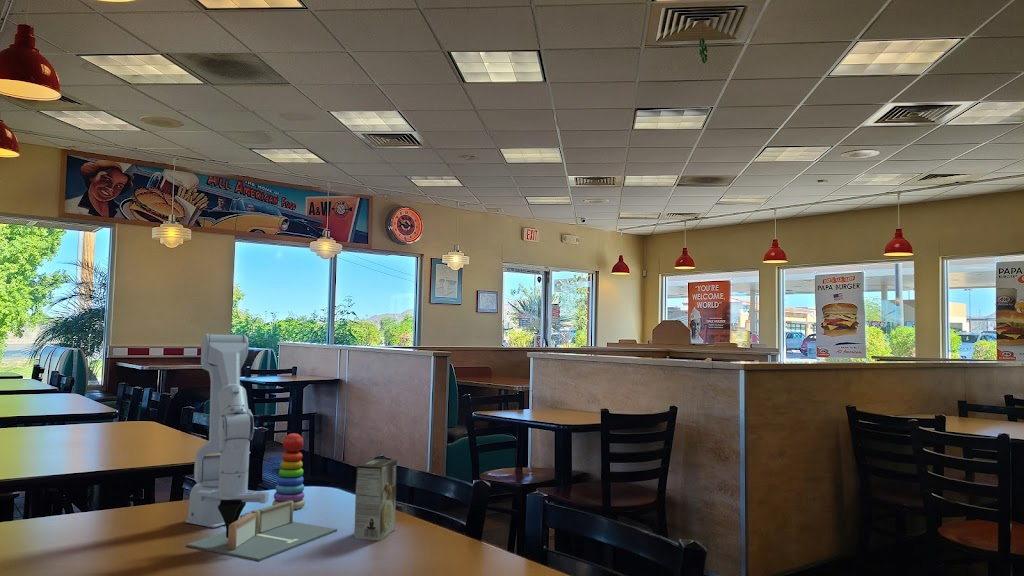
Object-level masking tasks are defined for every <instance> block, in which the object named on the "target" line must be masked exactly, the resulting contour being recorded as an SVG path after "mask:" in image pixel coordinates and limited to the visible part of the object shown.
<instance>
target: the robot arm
mask: <svg viewBox="0 0 1024 576" xmlns="http://www.w3.org/2000/svg"><path fill="white" fill-rule="evenodd" d="M249 345H250V344H249V338H248V336H247V335H246V334H215V333H214V334H212V333H205V334H203V336H202V339H201V346H200V349H201V351H200V352H201V353H200V365H201V369H203V370H205V371H207V372H208V374H209V378H210V379H209V380H210V389H209V390H210V397H209V429H208V432H209V433H208V441H206V443H205V444H203V445H201V447H199V448H198V449H197V451H196V453H195V460H194V468H193V474H194V476H193V477H194V482H196V483H195V484H194V486H193V487H192V488H191V490H190V493H189V502H188V504H189V505H188V519H186V520H185V521H184V522H185V523H186V524H187V523H188V524H193V525H198V526H204V527H208V528H218V527H222V526H224V525H225V529H226V531H225V532H226V538H228V532H229V525H230V524H232V523H233V522H235V521H237V520H239V519H240V518H241V517H240V516H241V515H242V511H243V510H244V507H245V506H246V504H247V503H259V504H267V503H268V502H269V496H270V494H269V492H268V491H259V490H252V489H251V490H250V489H248V488H249V486H248V485H249V470H250V469H249V466H250V446H251V445H250V444H251V443H250V442H251V441H252V440H253V438H254V437H253V436H254V432H255V422H254V415H253V413H252V410H251V409H249V405H248V403H249V402H248V395H247V390H246V388H245V387H244V386H242V385H241V379H240V378H241V376H240V373H241V371H240V370H241V369H242V367H243V366H244V364H245V361H246V360H247V358H248V354H249V347H250V346H249ZM211 454H215V455H211ZM216 454H217V455H216ZM218 454H219V455H218Z"/></svg>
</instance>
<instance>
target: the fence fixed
mask: <svg viewBox="0 0 1024 576" xmlns="http://www.w3.org/2000/svg"><path fill="white" fill-rule="evenodd" d="M250 513H257V517H256V520H255V535H258V534H259V532H264V531H267V530H270V529H272V528H275V527H278V526H281V525H284V524H290V523H293V522H294V521H293V520H294V519H293V518H294V510H293V501H286V502H282V503H279V504H276V505H270V506H265V507H263V508H258V509H257V510H256V509H255V510H254V509H253V510H251V512H250ZM255 535H254V536H255Z"/></svg>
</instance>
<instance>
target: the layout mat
mask: <svg viewBox="0 0 1024 576" xmlns="http://www.w3.org/2000/svg"><path fill="white" fill-rule="evenodd" d="M337 531H338V529H337V528H333V527H328V526H327V527H326V526H321V525H314V524H311V523H310V524H309V523H305V522H304V523H303V522H296V521H293V523H290V524H284V525H281V526H278V527H275V528H272V529H270V530H267V531H264V532H259V534H258V535H255V536H253V537H251V538H250V539H248V540H247V541H245V542H244V543H242V544H241V545H239V546H238V547H236V549H232V550H229V549H228V538H226V531H223V532H220V533H217V534H214V535H211V536H210V535H209V536H207V537H205V538H202V539H198V540H195V541H193V542H189V543H186V547H190V548H194V549H199V550H204V551H209V552H213V553H218V554H223V555H228V556H233V557H237V558H242V559H243V558H244V559H249V560H253V561H256V562H257V561H258V562H261V561H263V560H265V559H268V558H271V557H274V556H276V555H278V554H282V553H284V552H286V551H289V550H292V549H295V548H298V547H300V546H301V545H305V544H306V543H309V542H311V541H312V542H313V541H316V540H317V539H320V538H322V537H325V536H328V535H331V534H333V533H336V532H337Z"/></svg>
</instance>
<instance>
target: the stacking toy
mask: <svg viewBox="0 0 1024 576" xmlns="http://www.w3.org/2000/svg"><path fill="white" fill-rule="evenodd" d="M282 446H283V449H284V450H285V452H283V453H282V455H281V459H282V461H280V467H281V468H280V469H279V472H278V474H279V476H278V477H277V480H276V481H277V485H276V486H275V492H274V494H273V499H274V500H273V501H272V505H276V504H279V503H282V502H286V501H293V511H296V510H300V509H302V508H303V507H305V504H306V502H305V500H304V498H305V493H304V489H305V485H304V484H303V483H304V481H305V480H304V477H303V475H304V469H303V468H302V467H303V465H304V464H303V461H302V459H303V457H304V456H303V454H302V452H300V451H301V450H302V449H303V447H304V439H303V437H302V436H301V434H299V433H295V432H294V433H289V434H287V435H285V437H284V438H283V441H282ZM272 505H271V506H272ZM295 509H296V510H295Z"/></svg>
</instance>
